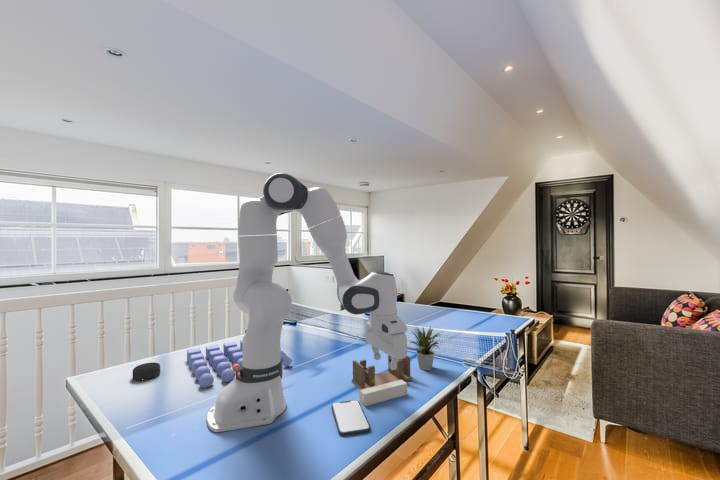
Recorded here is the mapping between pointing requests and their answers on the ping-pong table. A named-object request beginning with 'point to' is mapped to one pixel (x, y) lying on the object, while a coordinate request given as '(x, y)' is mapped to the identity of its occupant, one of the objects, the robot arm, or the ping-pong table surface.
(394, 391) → the clay strip
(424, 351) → the house plant
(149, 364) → the smart speaker
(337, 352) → the ping-pong table surface
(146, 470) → the ping-pong table surface
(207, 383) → the blocks
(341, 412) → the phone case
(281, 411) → the robot arm
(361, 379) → the rack
